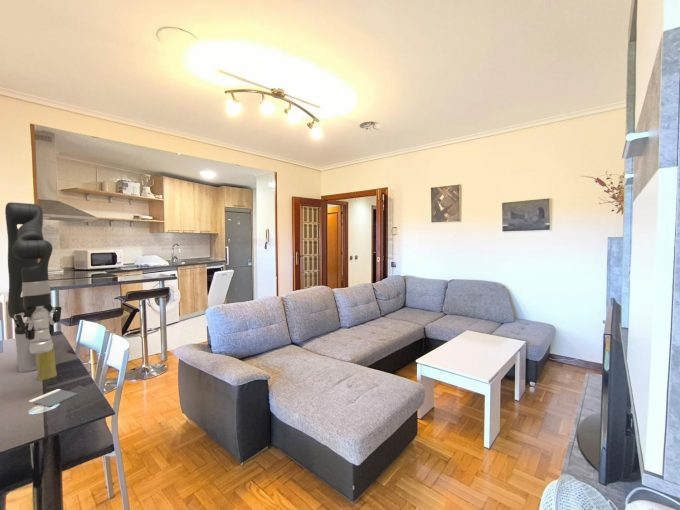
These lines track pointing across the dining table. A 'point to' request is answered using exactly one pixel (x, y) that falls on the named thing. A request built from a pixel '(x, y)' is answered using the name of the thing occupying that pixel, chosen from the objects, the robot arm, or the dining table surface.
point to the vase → (46, 365)
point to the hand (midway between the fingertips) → (40, 336)
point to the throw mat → (53, 397)
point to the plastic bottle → (40, 331)
